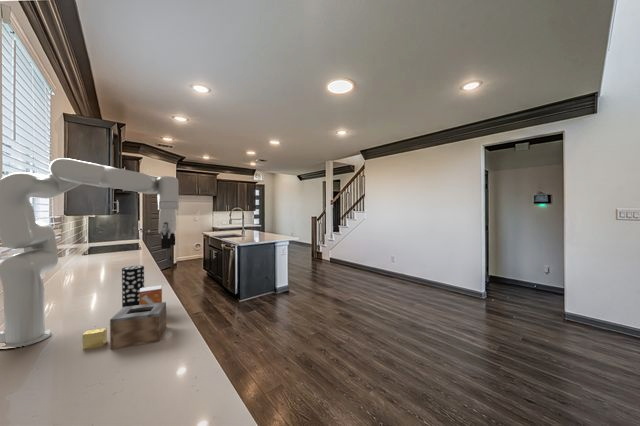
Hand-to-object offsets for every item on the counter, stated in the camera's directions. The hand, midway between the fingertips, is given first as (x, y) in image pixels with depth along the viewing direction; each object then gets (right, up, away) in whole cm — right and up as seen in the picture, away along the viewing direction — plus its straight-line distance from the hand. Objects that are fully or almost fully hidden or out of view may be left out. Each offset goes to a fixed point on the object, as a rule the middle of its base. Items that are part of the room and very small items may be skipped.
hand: (168, 246), depth 106 cm
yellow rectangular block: (-14, -32, -19) cm, 39 cm away
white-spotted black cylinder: (-23, -31, +12) cm, 41 cm away
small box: (-10, -32, +3) cm, 33 cm away
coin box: (-2, -31, -13) cm, 34 cm away
